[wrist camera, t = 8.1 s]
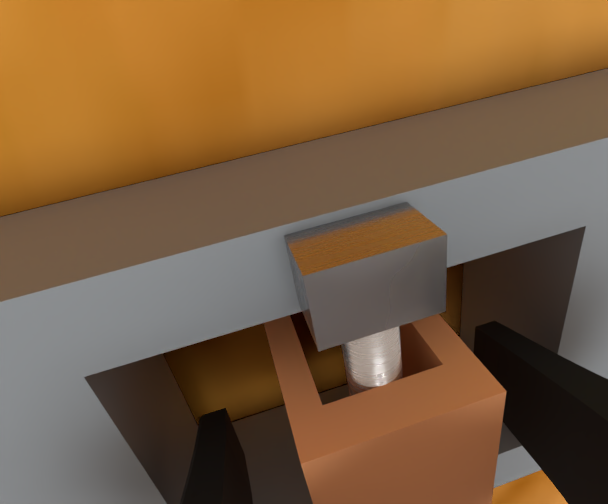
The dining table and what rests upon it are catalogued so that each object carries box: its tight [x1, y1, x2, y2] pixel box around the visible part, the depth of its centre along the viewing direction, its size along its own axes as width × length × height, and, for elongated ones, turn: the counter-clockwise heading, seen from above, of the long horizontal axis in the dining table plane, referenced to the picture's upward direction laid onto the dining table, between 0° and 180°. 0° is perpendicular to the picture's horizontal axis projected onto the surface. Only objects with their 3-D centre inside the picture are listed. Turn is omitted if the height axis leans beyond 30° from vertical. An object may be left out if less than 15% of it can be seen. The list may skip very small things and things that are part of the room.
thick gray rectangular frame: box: [0, 68, 608, 504], centre depth 12 cm, size 12×22×6 cm, turn 99°
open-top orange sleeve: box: [264, 314, 506, 504], centre depth 11 cm, size 5×4×6 cm
